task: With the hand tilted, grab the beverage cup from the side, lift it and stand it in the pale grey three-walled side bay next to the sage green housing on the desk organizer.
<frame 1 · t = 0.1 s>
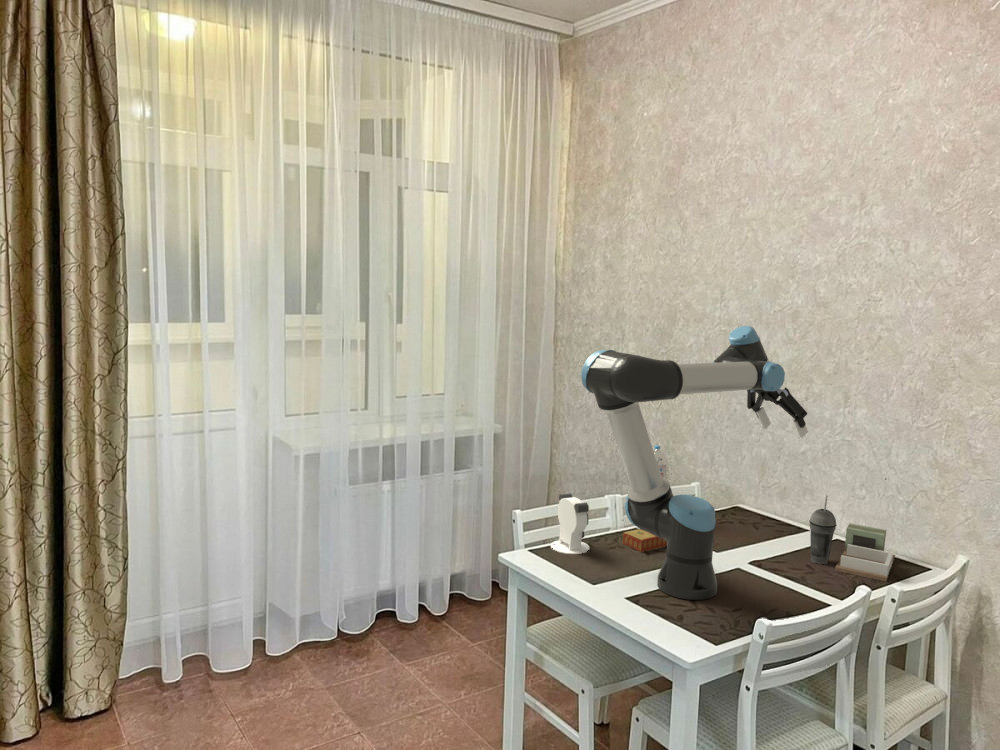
hand: (785, 430, 232), 36 cm above the table, tool tilted 35°, fingers open, 13 cm apart
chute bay: (866, 568, 221), resting on desk organizer
white upright piece: (570, 548, 229), on the table
carton: (650, 545, 235), on the table
water bottle: (652, 520, 258), on the table
desk organizer: (865, 564, 224), on the table
beverage cup: (819, 562, 225), on the table
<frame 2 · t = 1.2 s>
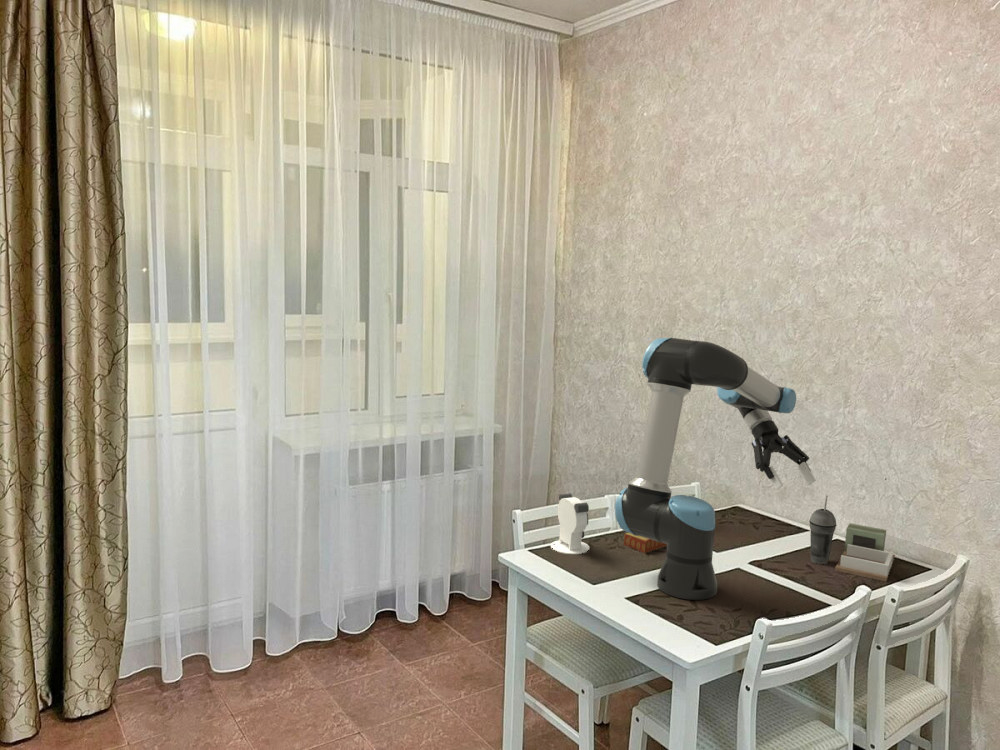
hand: (796, 485, 231), 20 cm above the table, tool tilted 45°, fingers open, 13 cm apart
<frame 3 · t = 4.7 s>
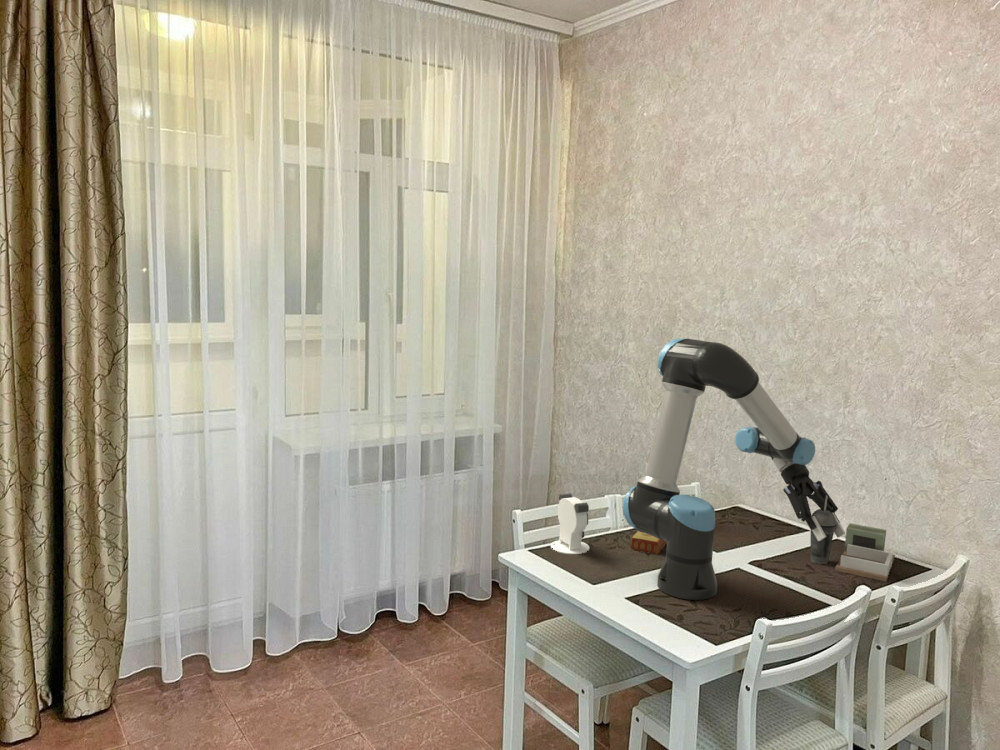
hand: (831, 537, 221), 9 cm above the table, tool tilted 45°, fingers closed on beverage cup, 7 cm apart
beverage cup: (819, 562, 225), on the table, touching gripper
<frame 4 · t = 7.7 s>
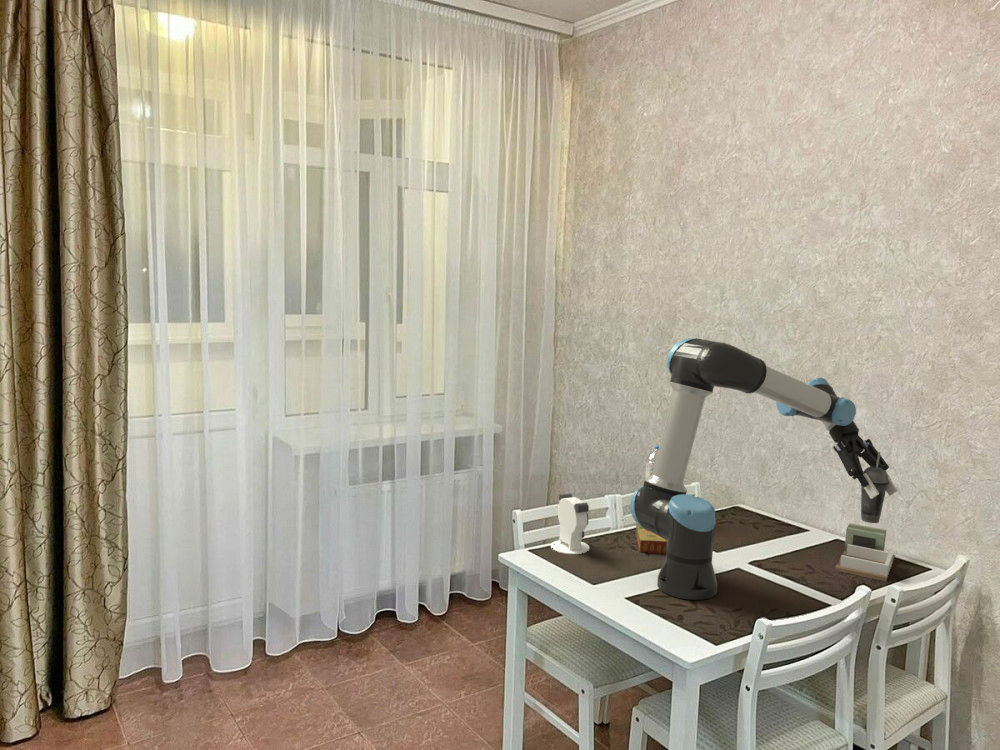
hand: (884, 494, 215), 22 cm above the table, tool tilted 45°, fingers closed on beverage cup, 7 cm apart
beverage cup: (870, 521, 219), point 14 cm above the table, touching gripper
when the fingers open (11 cm above the table, at t = 10.2 s): beverage cup drops 1 cm, resting on desk organizer.
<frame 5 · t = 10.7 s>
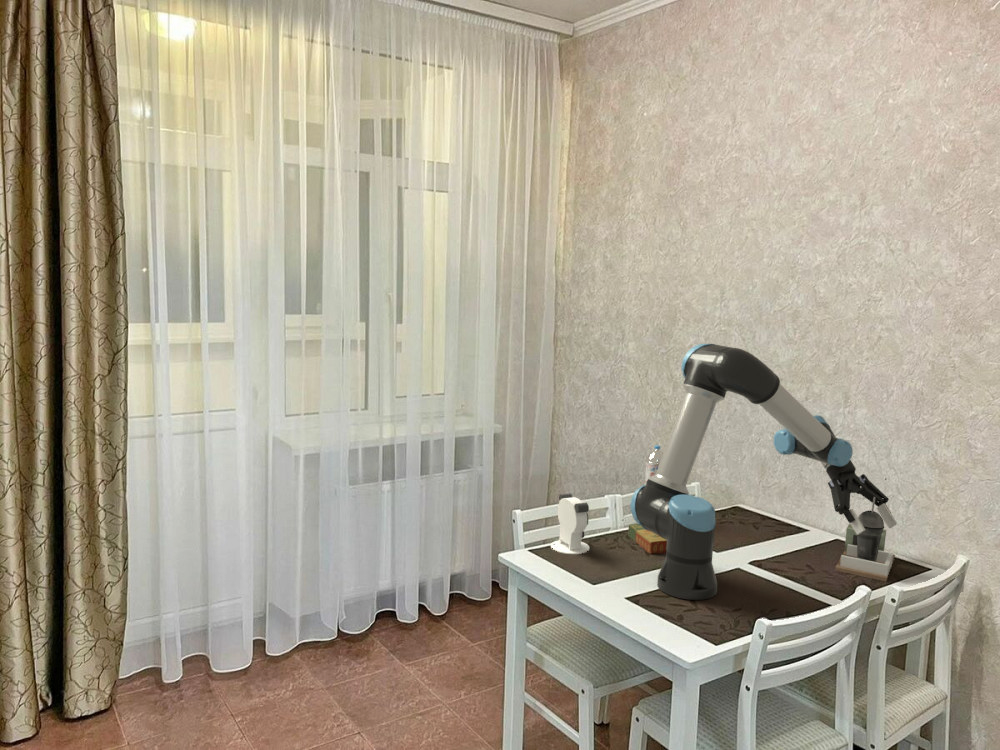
hand: (877, 529, 217), 12 cm above the table, tool tilted 45°, fingers open, 13 cm apart
beverage cup: (866, 565, 221), point 1 cm above the table, touching desk organizer
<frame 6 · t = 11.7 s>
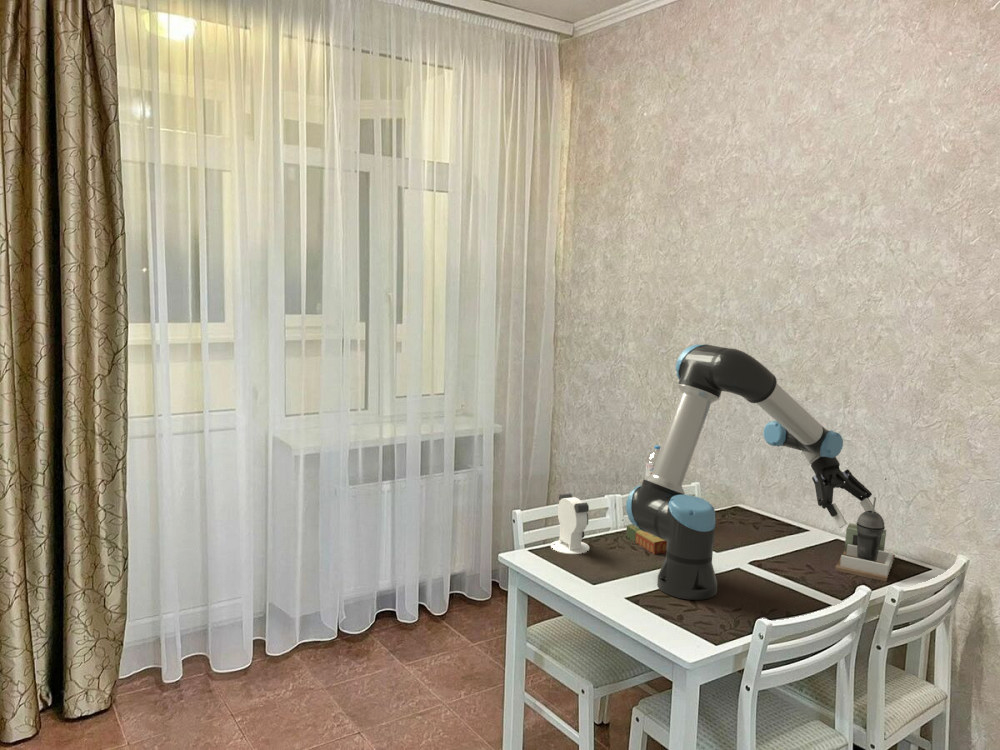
hand: (859, 523, 223), 12 cm above the table, tool tilted 45°, fingers open, 13 cm apart
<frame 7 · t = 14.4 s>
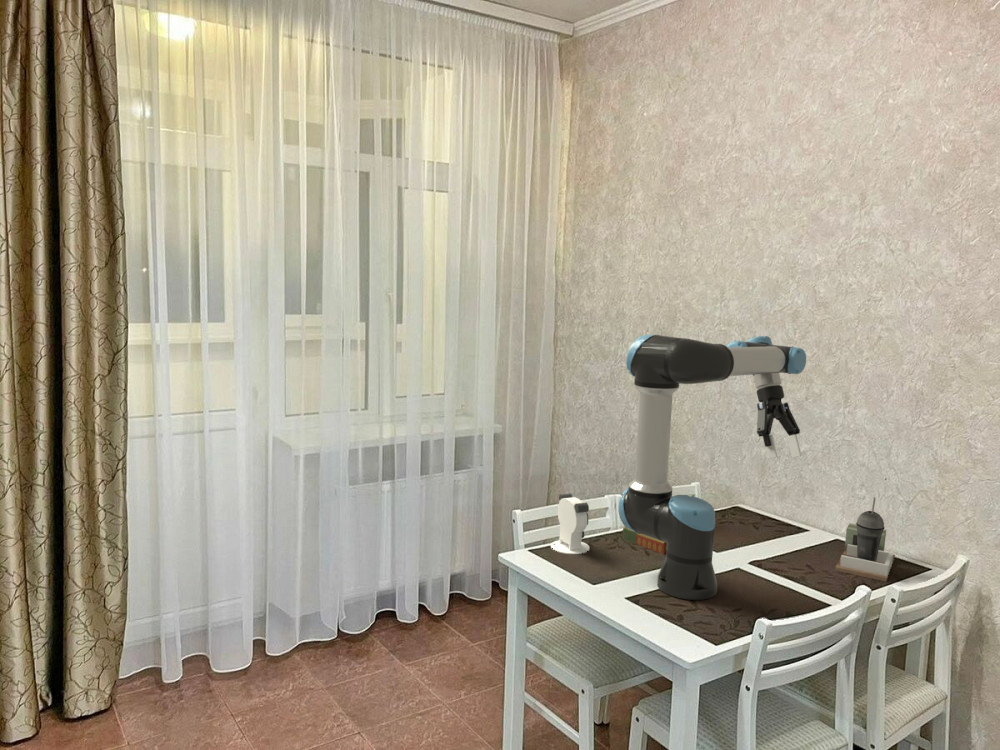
hand: (784, 457, 229), 29 cm above the table, tool tilted 25°, fingers open, 13 cm apart
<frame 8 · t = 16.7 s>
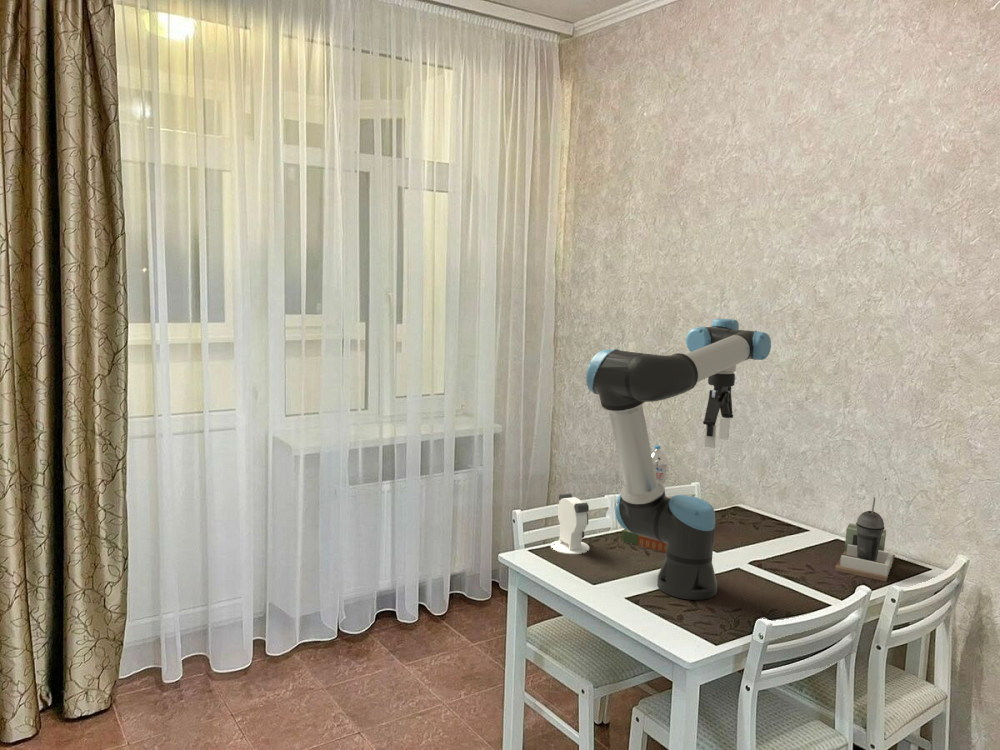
hand: (716, 443, 230), 32 cm above the table, tool pointing down, fingers open, 13 cm apart
at the end: beverage cup inside the target area on the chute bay (0.2 cm from its centre), point 0.8 cm above the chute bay's base; beverage cup tilted 0°; the gripper is holding nothing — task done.
